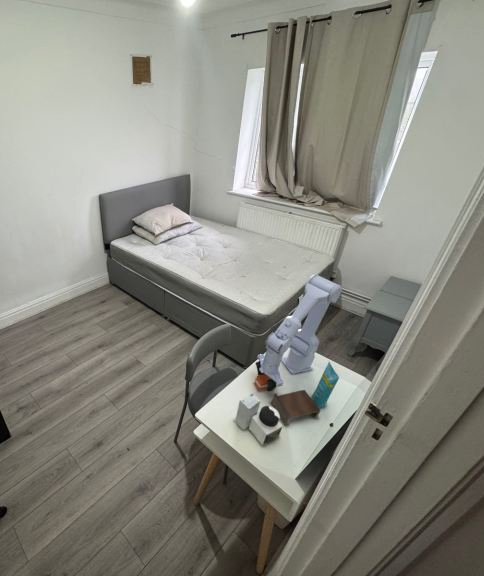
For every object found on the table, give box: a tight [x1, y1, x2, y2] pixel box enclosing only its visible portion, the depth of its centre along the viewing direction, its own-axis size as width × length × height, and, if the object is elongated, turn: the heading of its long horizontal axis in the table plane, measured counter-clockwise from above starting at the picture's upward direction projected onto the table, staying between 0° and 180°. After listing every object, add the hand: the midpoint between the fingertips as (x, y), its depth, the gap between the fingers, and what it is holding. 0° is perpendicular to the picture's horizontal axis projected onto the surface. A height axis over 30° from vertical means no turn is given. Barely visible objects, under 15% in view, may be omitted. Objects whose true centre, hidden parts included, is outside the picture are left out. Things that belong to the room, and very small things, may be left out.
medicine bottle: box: [248, 405, 284, 446], centre depth 102 cm, size 7×7×12 cm
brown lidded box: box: [270, 389, 321, 426], centre depth 110 cm, size 13×9×6 cm
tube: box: [311, 361, 340, 409], centre depth 109 cm, size 7×5×19 cm, turn 2°
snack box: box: [254, 374, 271, 392], centre depth 120 cm, size 7×4×5 cm, turn 102°
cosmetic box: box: [234, 392, 261, 431], centre depth 105 cm, size 6×4×12 cm
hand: (265, 383), depth 120 cm, fingers open, 6 cm apart
